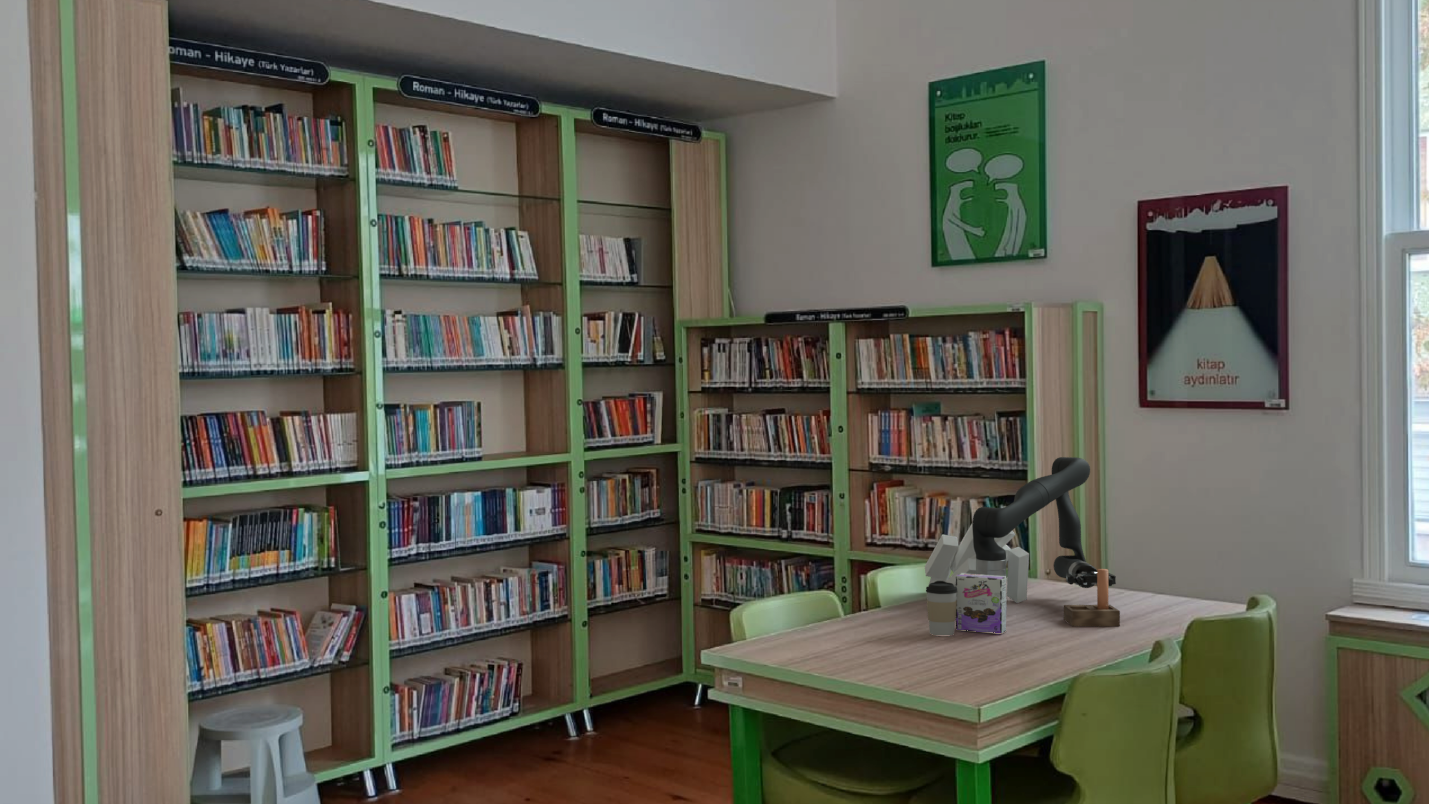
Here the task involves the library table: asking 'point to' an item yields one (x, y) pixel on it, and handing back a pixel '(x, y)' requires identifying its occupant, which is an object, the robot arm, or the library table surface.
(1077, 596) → the library table surface
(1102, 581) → the peg
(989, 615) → the candy box
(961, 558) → the pile of blocks
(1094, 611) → the hole block
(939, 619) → the coffee cup
